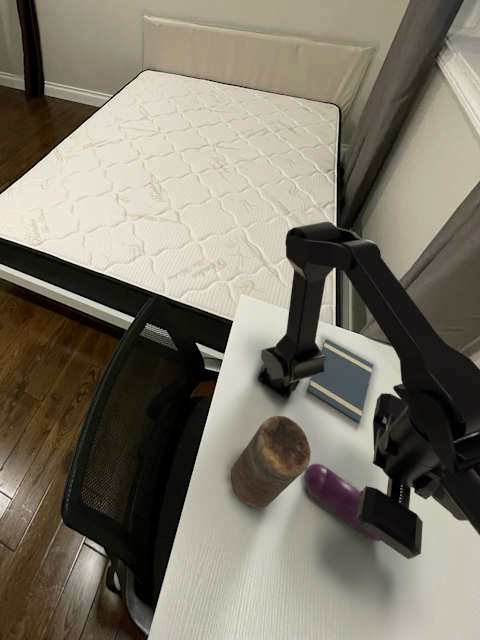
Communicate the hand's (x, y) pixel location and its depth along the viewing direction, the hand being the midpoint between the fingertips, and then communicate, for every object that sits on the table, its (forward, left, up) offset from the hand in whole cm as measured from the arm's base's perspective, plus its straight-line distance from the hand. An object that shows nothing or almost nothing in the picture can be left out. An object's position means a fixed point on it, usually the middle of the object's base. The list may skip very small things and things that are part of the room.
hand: (373, 486), depth 54 cm
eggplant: (-1, 0, -11) cm, 12 cm away
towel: (-6, +22, -11) cm, 25 cm away
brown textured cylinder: (-14, -6, -12) cm, 19 cm away
